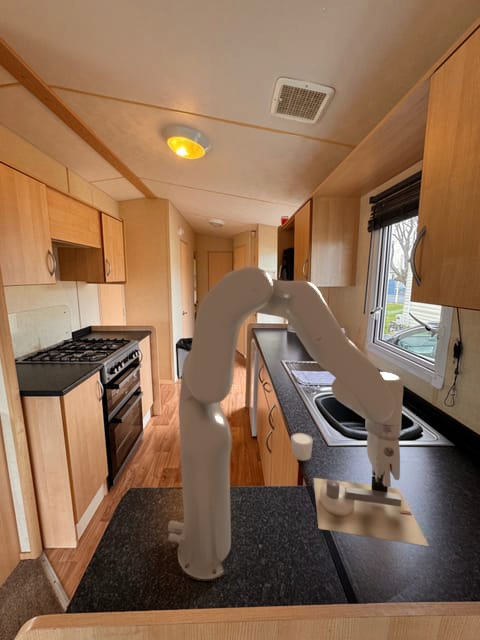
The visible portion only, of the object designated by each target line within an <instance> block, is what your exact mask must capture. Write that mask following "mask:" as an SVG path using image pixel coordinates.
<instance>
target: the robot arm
mask: <svg viewBox="0 0 480 640" xmlns="http://www.w3.org/2000/svg"><path fill="white" fill-rule="evenodd" d="M254 313H256V314H257V313H258V314H260V315H266V316H275V317H279V318H283V319H285V320H286V321H287V322H288V324H289V326H291V328H292V330H293V331H294V333H295V334H296V336H297V337H298V339H299V340H300V342H301V344H302V345H303V347H304V348H305V350H306V351H307V353H308V354H309V356H310V357H311V358H312V359H313V360H314V362H316V363H317V365H319V366H320V367H321V368H323V369H324V370H325V371H327V372H328V373H329V374H331V375H332V376H333V377H334V379H333V381H332V382H331V393H332V395H333V396H334V399H336V400H337V401H338V402H339V403H341V404H342V405H344V406H345V407H347V408H348V409H350V410H352V411H353V412H354V413H355V414H357V415H359V416H360V417H362V419H365V425H364V426H365V428H364V429H365V430H366V431H367V439H366V453H367V457H368V460H369V463H370V464H371V474H372V475H371V485H372V487H371V489H372V490H374V491H381V492H387V491H388V487H391V482H392V481H391V475H392V477H393V479H394V480H395V481H399V480H400V479H401V451H400V448H401V447H400V439H399V438H400V437H401V433H402V432H401V431H402V417H403V416H402V415H403V398H404V381H403V379H402V378H401V377H400V376H398V375H397V374H394V373H390V372H385V371H380V370H379V369H378V368H377V366H376V365H375V364H374V363H373V362H372V361H371V360H370V359H369V357H367V355H365V354H364V353H363V352H362V351H361V350H360V349H359V347H357V345H355V344H354V343H353V342H352V341H351V340H350V339H349V338H348V337H347V336H346V334H345V333H344V331H343V330H342V327H341V326H340V324H339V323H338V321H337V319H336V318H335V316H334V314H333V313H332V311H331V308H330V306H328V303H327V302H326V301H325V298H324V296H323V295H322V293H321V292H320V290H319V289H318V287H316V286H315V285H314V284H313V283H312V282H309V281H304V280H279V279H274V278H272V277H271V276H270V275H269V273H267V271H265V270H264V269H262V268H260V267H256V266H246V267H241V268H239V269H234V270H231V271H230V272H228V273H226V274H225V275H224V276H223V277H222V278H221V280H219V281H218V282H217V283H215V284H214V286H213V287H212V288H210V290H209V291H208V292H207V294H205V295H204V297H203V299H202V300H201V303H200V304H199V307H198V310H197V312H196V316H195V322H194V326H193V327H194V328H193V335H192V342H191V349H190V350H189V351H188V353H187V354H186V356H185V358H184V360H183V365H182V371H181V378H180V379H181V381H180V388H179V389H180V391H179V401H178V420H179V422H178V423H179V425H178V426H179V444H180V445H179V448H180V460H181V461H180V462H181V482H182V484H181V486H182V502H183V503H182V504H183V508H182V509H183V522H179V521H177V520H170V521H169V522H168V526H167V531H168V532H170V533H169V535H168V539H167V540H168V542H171V543H177V544H178V548H177V560H178V565H179V564H180V565H179V567H180V566H181V567H182V569H183V570H184V571H185V572H186V573H187V574H189V575H191V576H193V577H196V578H199V579H213V578H217V577H220V576H222V575H224V574H225V575H226V570H225V568H224V565H223V562H224V560H225V559H226V558H227V556H229V555H228V554H230V550H231V545H232V529H231V528H232V527H231V526H232V525H231V521H232V520H231V479H230V478H231V477H230V471H231V470H230V469H231V468H230V467H231V466H230V462H231V461H230V459H231V451H232V431H231V427H230V424H229V422H228V419H227V417H226V415H225V412H224V410H223V408H222V406H221V402H222V401H224V400H225V399H226V398H227V397H228V395H229V394H230V392H231V390H232V387H233V383H234V376H235V375H234V373H235V364H236V363H235V362H236V353H237V347H238V346H237V345H238V340H239V335H240V331H241V328H242V326H243V325H244V323H245V321H246V320H247V319H248V318H249V317H250V316H251V315H253V314H254ZM391 488H392V487H391ZM176 533H180V534H176ZM186 566H189V568H185V567H186ZM213 572H216V574H213ZM225 575H224V576H225ZM222 577H223V576H222Z"/></svg>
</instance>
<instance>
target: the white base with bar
mask: <svg viewBox="0 0 480 640" xmlns="http://www.w3.org/2000/svg"><path fill="white" fill-rule="evenodd" d="M327 480H328V481H327V484H324V485H323V486H322V487H321V489H320V502H321V504H322V506H323V507H324V508H325V509H326V510H327V511H328V512H330V513H332V514H335V515H338V516H346V515H349V514H351V513H352V512H353V510H354V500H358V501H365V502H372V503H379V504H386V505H393V506H400V507H401V498H400V496H399V494H396V493H389V492H381V491H374V490H366V489H359V488H352V487H345V486H343V485H340V484H339V483H338V482H337V481H338V480H335V479H327Z"/></svg>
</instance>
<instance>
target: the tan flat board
mask: <svg viewBox="0 0 480 640" xmlns="http://www.w3.org/2000/svg"><path fill="white" fill-rule="evenodd" d="M328 480H329V479H325V478H317V477H313V486H314V495H315V496H314V497H315V505H316V506H315V507H316V516H317V517H316V518H317V525H318V526H317V527H318V529H319V530H323V531H324V530H326V531H332V532H335V533H336V532H337V533H344V534H349V535H356V536H363V537H366V538H367V537H368V538H373V539H380V540H386V541H387V540H388V541H393V542H400V543H404V544H406V543H407V544H411V545H418V546H419V545H420V546H423V547H424V546H425V547H429V546H430V545H429V543H428V541H427V540H426V537H425V536H424V533H423V532H422V530H421V527H420V526H419V524H418V521H417V520H416V518H415V516H414V514H413V512H412V510H411V507H410V506H409V504H408V502H407V501H406V498H405V497H404V494H403V492H402V491H401V489H400V488H397V487H388V491H387V492H389V493H396V494H399V496H400V498H401V507H400V506H393V505H386V504H379V503H372V502H365V501H358V500H354V510H353V512H352V513H351V514H349V515H346V516H338V515H335V514H332V513H330V512H328V511H327V510H326V509H325V508H324V507H323V506H322V504H321V502H320V489H321V487H322V486H323V485H324V484H327V481H328ZM336 481H337V482H338V483H339V484H340V485H343V486H345V487H352V488H359V489H366V490H372V489H371V487H372V484H365V483H356V482H351V481H350V482H349V481H342V480H336Z"/></svg>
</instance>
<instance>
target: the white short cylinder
mask: <svg viewBox="0 0 480 640" xmlns="http://www.w3.org/2000/svg"><path fill="white" fill-rule="evenodd" d="M313 441H314V440H313V437H312V436H310V435H309V434H308V433H307V434H306V433H303V432H296V433H293V434H292V435H291V436H290V445H291V455H292V457H293V458H294V459H295V460H299V461H308V460H310V459H311V458H312V449H313V443H314V442H313Z"/></svg>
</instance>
